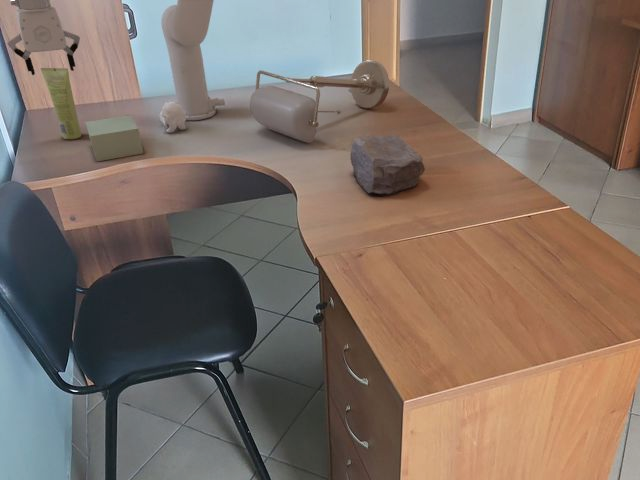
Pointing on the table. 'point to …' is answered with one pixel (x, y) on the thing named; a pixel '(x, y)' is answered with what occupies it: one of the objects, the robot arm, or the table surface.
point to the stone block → (385, 164)
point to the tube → (62, 101)
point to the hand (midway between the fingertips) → (53, 71)
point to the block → (114, 137)
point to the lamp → (301, 111)
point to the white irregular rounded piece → (173, 116)
